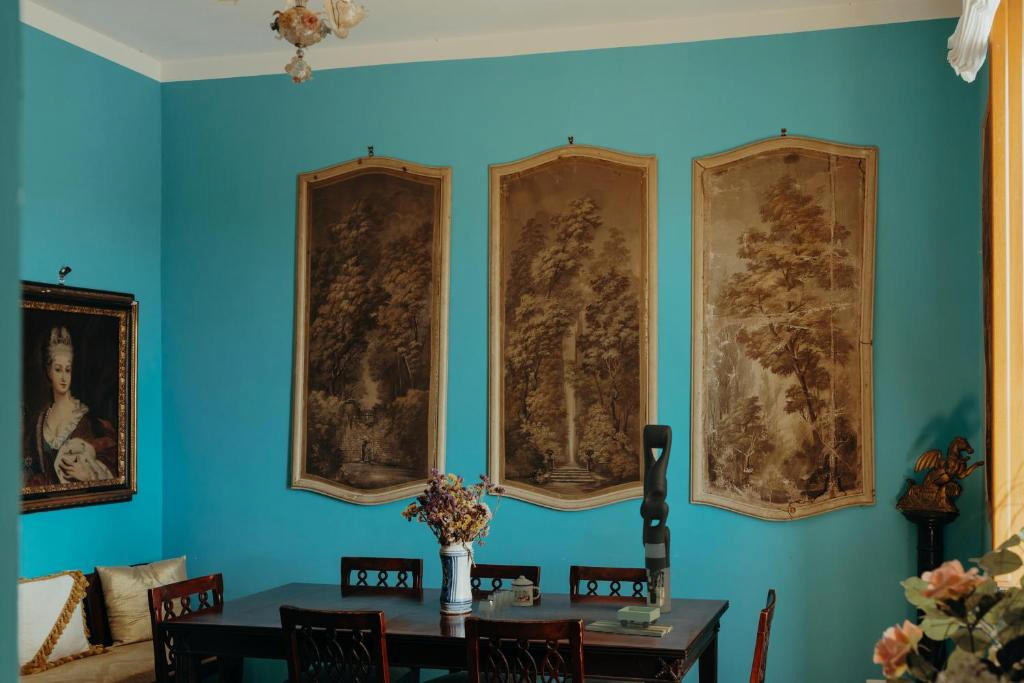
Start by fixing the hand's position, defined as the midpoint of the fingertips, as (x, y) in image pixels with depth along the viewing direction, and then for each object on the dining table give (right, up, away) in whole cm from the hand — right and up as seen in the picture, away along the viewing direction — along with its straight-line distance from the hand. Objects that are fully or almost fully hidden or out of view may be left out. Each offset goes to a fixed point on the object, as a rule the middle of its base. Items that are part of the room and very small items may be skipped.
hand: (655, 601), depth 391 cm
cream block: (0, -1, 0) cm, 1 cm away
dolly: (-8, -5, -12) cm, 15 cm away
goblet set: (-58, -9, -6) cm, 59 cm away
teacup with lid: (-47, -12, +44) cm, 65 cm away
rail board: (-11, -8, -10) cm, 17 cm away
